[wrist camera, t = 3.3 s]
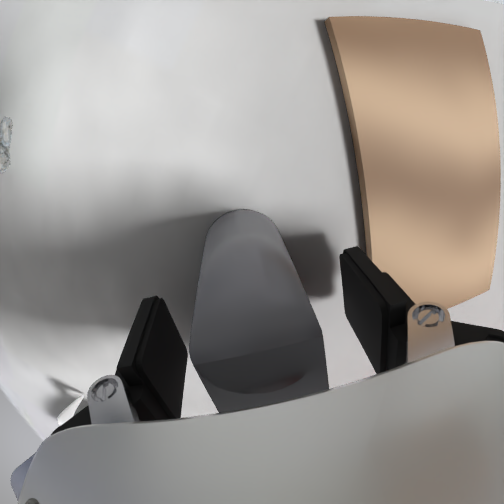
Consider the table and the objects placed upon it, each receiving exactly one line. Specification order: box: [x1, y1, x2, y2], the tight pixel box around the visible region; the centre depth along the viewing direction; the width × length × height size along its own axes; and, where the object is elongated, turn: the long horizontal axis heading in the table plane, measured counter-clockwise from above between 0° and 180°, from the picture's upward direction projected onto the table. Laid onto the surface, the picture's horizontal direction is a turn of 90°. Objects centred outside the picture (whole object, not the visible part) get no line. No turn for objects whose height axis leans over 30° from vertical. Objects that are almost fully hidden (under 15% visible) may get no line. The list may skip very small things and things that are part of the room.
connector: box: [189, 210, 329, 413], centre depth 11 cm, size 9×3×6 cm, turn 13°
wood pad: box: [324, 16, 500, 309], centre depth 11 cm, size 14×8×1 cm, turn 13°
